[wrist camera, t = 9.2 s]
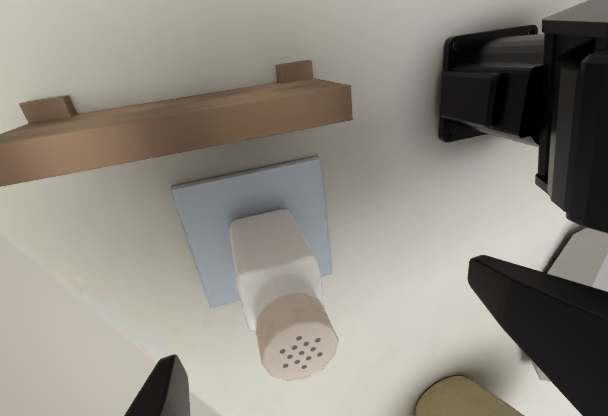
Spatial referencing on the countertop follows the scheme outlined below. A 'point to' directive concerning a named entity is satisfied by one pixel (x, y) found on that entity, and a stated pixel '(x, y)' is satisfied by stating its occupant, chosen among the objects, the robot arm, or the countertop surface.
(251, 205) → the slate coaster
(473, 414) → the plant pot
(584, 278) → the rock
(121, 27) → the countertop surface
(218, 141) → the walnut screen
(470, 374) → the countertop surface
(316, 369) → the pepper shaker
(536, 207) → the countertop surface
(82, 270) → the countertop surface
